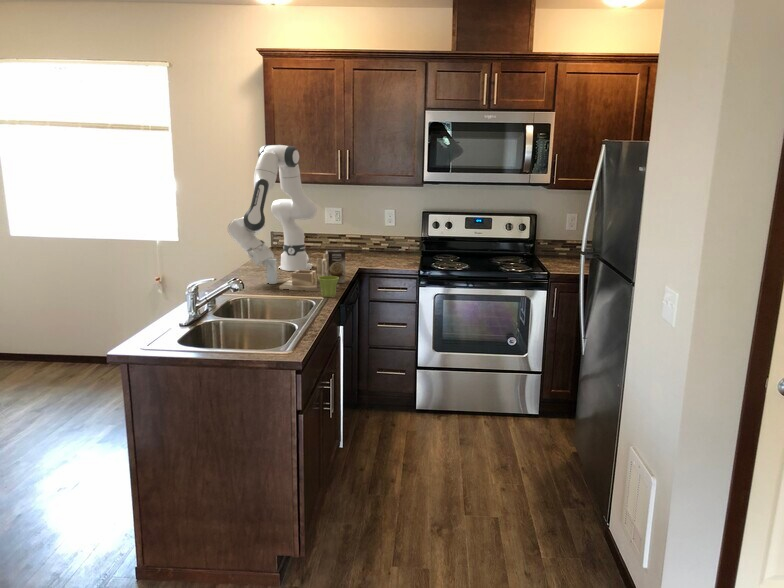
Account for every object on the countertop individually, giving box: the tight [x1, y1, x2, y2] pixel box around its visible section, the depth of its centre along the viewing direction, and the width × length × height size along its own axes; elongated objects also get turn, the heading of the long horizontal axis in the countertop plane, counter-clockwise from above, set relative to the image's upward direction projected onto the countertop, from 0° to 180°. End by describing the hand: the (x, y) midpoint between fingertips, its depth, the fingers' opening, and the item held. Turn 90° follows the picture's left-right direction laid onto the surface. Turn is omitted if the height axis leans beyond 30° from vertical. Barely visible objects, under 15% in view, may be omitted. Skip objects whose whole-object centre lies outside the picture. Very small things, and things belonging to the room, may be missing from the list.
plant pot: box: [318, 276, 339, 298], centre depth 281 cm, size 9×9×9 cm
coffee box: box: [325, 249, 346, 284], centre depth 312 cm, size 9×6×16 cm
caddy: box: [279, 253, 328, 292], centre depth 299 cm, size 16×20×16 cm
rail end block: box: [265, 258, 278, 285], centre depth 306 cm, size 4×4×12 cm
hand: (272, 267), depth 306 cm, fingers closed on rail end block, 4 cm apart
